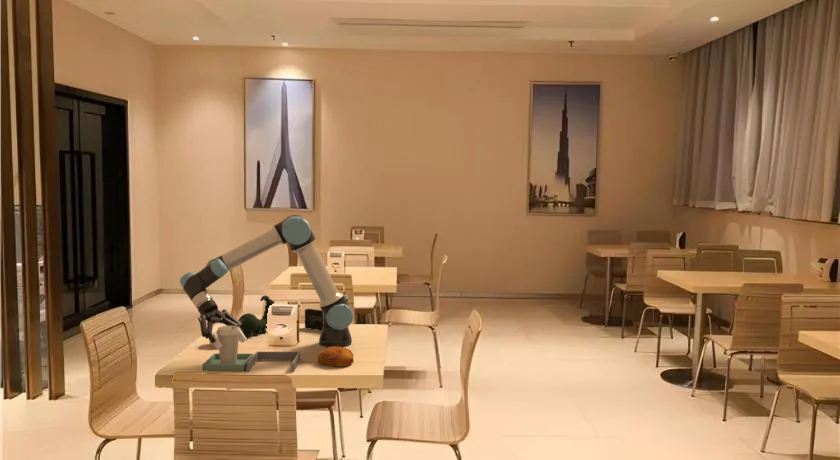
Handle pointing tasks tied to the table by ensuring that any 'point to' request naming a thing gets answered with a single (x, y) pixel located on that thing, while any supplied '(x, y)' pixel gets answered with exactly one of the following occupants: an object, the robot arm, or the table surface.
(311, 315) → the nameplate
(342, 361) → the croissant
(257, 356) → the dock
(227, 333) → the coffee cup
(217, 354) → the tray
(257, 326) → the toy figurine
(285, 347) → the table surface
